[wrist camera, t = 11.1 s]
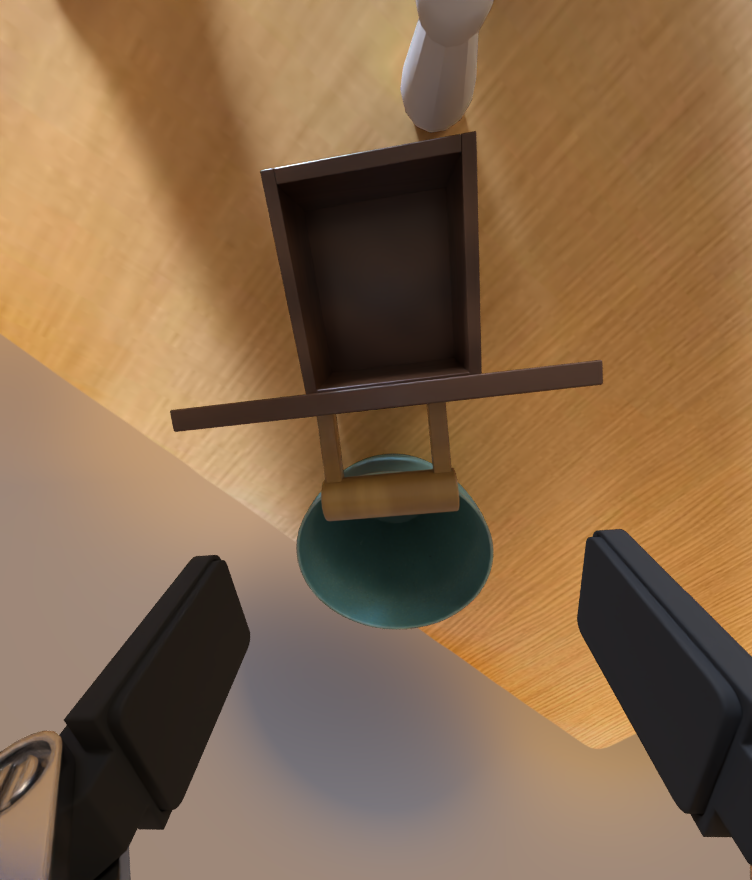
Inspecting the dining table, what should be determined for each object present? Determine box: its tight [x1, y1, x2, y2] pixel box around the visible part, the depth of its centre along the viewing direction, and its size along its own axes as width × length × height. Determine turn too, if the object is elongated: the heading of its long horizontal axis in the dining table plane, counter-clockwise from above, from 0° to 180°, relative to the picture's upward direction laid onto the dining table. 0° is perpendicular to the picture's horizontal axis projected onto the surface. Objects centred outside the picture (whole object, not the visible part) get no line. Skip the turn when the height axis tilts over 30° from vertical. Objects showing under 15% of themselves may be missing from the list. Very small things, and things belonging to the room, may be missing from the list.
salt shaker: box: [401, 0, 494, 133], centre depth 24 cm, size 6×6×13 cm
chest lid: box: [170, 360, 603, 521], centre depth 21 cm, size 18×15×5 cm
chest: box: [260, 131, 482, 394], centre depth 31 cm, size 17×15×9 cm
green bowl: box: [297, 454, 493, 629], centre depth 38 cm, size 18×18×12 cm
